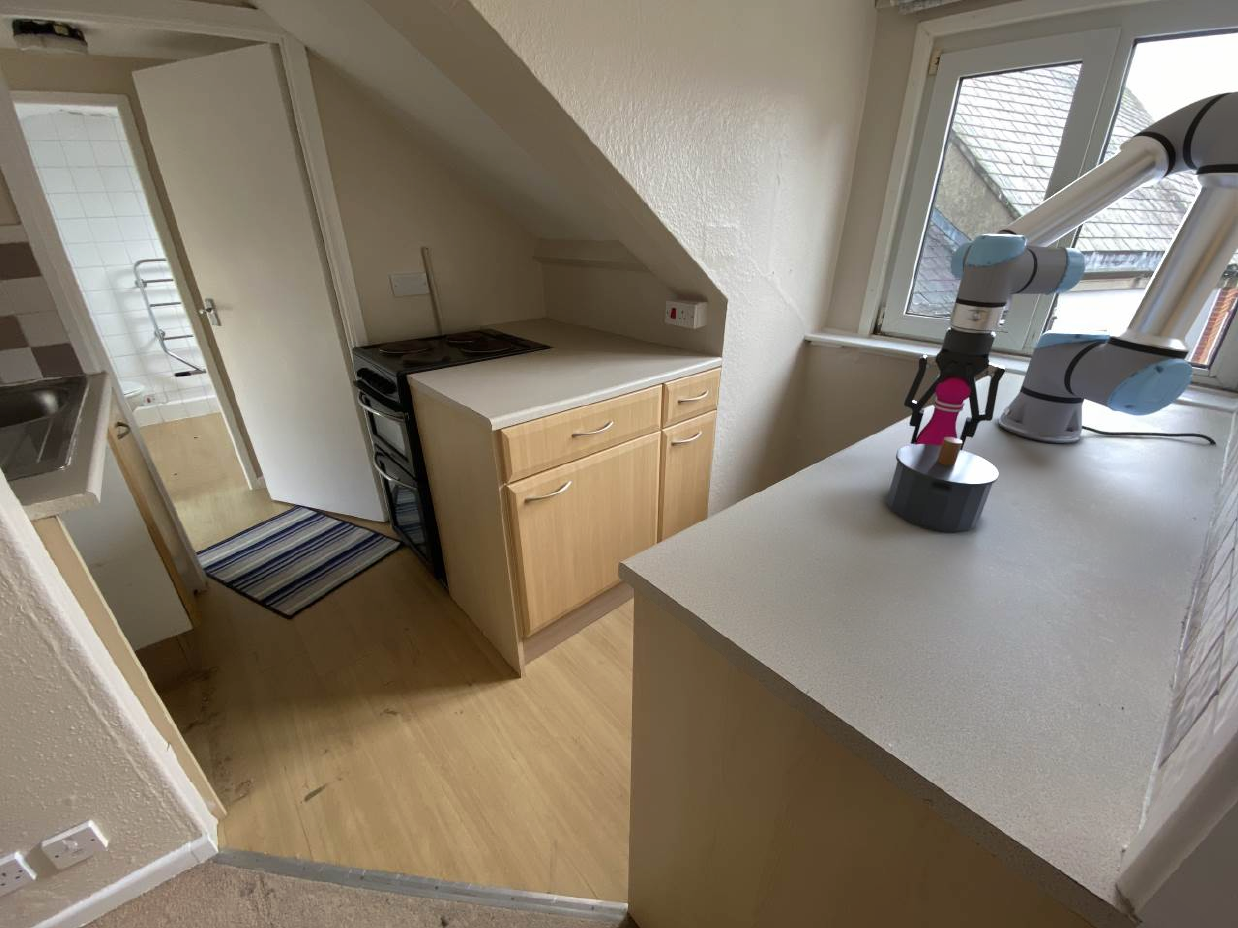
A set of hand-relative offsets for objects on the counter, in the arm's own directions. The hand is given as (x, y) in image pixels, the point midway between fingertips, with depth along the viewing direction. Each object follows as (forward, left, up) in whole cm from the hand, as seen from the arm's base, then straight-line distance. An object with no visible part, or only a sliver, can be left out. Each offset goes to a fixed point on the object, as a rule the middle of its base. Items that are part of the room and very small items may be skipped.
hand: (935, 446), depth 104 cm
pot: (-1, +20, -4) cm, 20 cm away
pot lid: (-1, +20, +4) cm, 20 cm away
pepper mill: (0, 0, -4) cm, 4 cm away
